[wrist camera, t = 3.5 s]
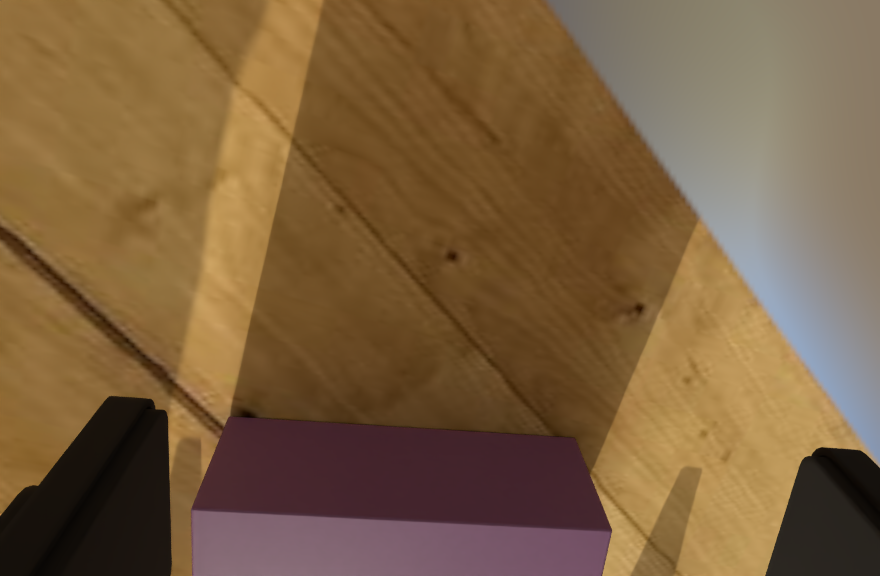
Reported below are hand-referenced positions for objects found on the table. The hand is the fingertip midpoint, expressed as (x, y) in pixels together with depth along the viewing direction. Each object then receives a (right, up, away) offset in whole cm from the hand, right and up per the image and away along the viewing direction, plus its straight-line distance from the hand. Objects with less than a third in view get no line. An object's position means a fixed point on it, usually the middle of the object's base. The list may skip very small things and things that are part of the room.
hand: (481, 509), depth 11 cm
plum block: (-2, -4, +16) cm, 17 cm away
